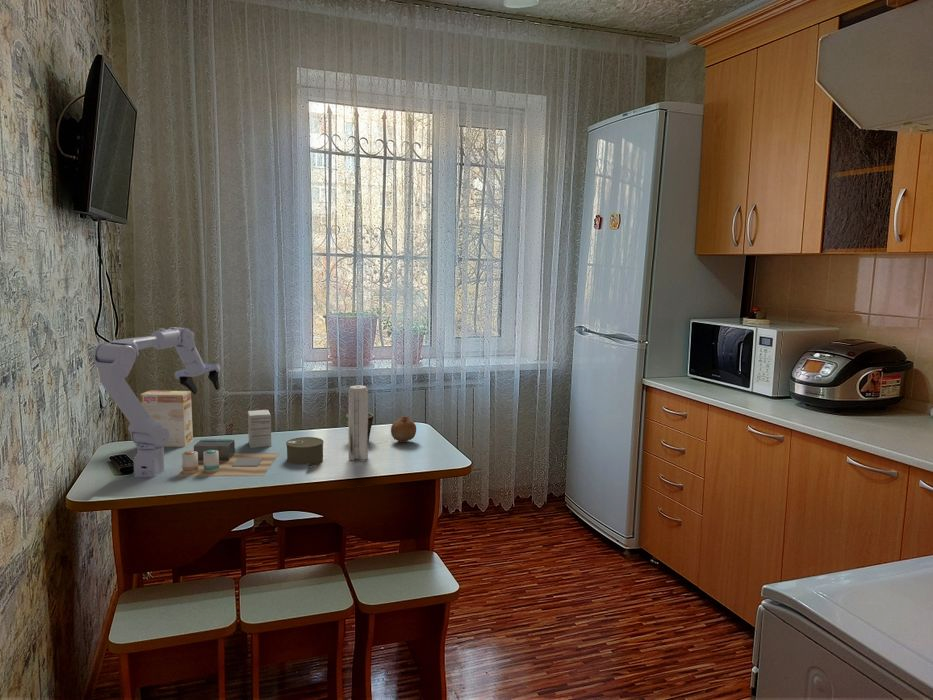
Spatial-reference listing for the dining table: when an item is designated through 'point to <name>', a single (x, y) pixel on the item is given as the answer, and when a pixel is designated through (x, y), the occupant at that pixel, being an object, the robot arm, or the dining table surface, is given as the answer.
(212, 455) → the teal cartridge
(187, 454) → the cylinder
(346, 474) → the dining table surface
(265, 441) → the supplement box
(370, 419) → the ceramic cup
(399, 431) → the onion
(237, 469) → the board
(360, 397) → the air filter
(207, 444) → the box
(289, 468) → the dining table surface
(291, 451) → the can
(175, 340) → the robot arm
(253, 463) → the mat
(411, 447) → the dining table surface
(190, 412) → the coffeecake box
